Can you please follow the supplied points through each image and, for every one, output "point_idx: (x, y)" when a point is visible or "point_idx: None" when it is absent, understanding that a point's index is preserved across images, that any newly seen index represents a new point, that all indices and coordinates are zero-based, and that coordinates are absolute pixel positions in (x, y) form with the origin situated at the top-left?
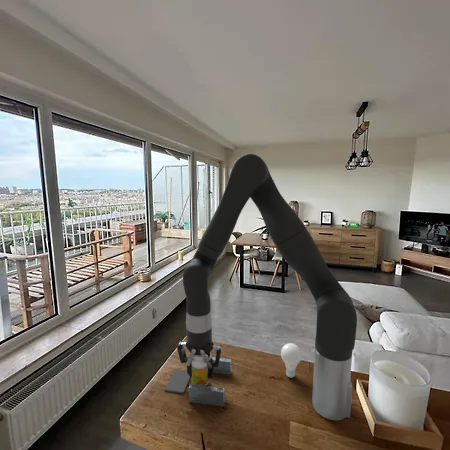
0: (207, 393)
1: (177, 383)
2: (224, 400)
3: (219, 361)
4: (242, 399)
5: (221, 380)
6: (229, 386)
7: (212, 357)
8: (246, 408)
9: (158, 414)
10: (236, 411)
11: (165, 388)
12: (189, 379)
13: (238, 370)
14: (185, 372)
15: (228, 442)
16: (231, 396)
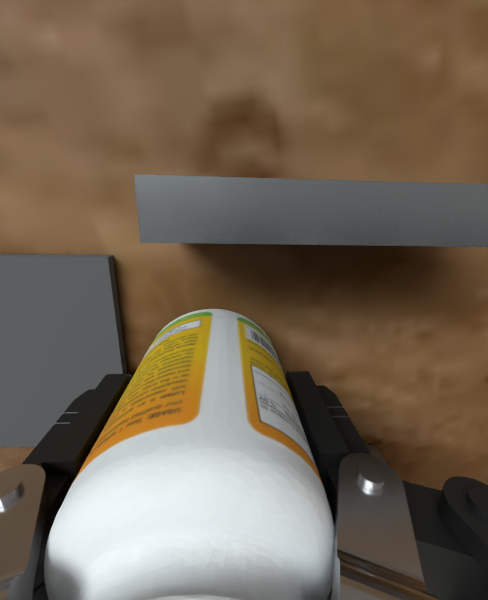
0: None
1: (56, 391)
2: (380, 454)
3: (392, 245)
4: (470, 412)
5: (350, 300)
6: (404, 340)
7: (299, 188)
8: (481, 454)
9: None
10: (431, 475)
11: (1, 440)
12: (121, 332)
13: (484, 172)
14: (56, 283)
15: None
16: (412, 405)
